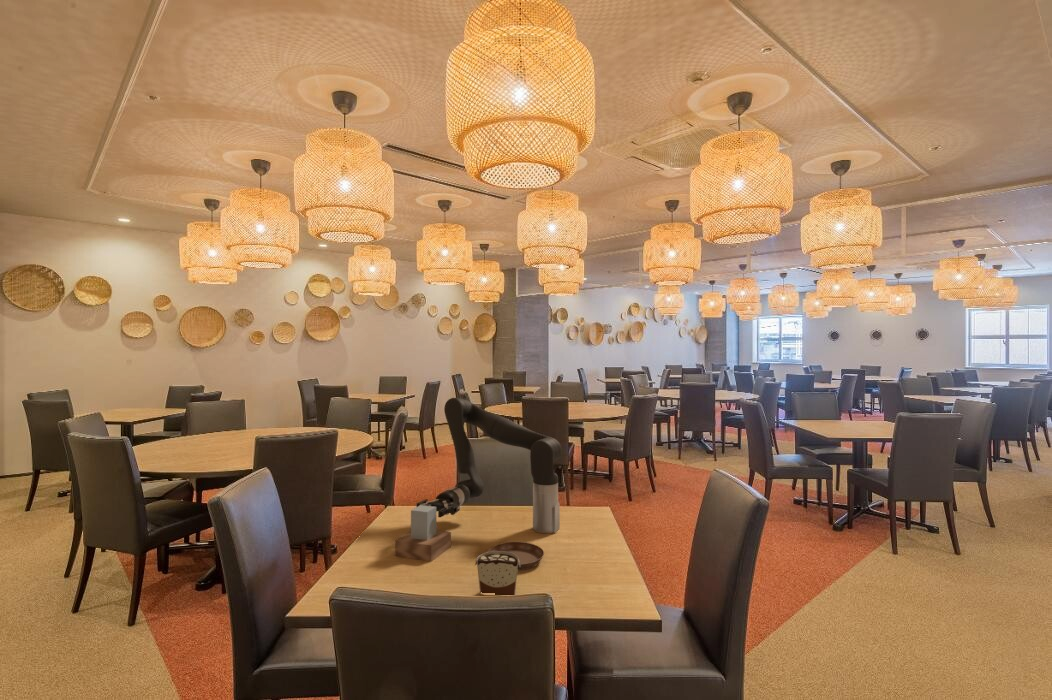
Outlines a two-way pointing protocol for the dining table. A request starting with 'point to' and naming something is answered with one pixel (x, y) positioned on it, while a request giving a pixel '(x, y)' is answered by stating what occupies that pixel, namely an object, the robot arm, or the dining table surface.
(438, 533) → the walnut block
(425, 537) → the slate block
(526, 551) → the plant saucer
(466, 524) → the dining table surface
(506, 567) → the cake slice
